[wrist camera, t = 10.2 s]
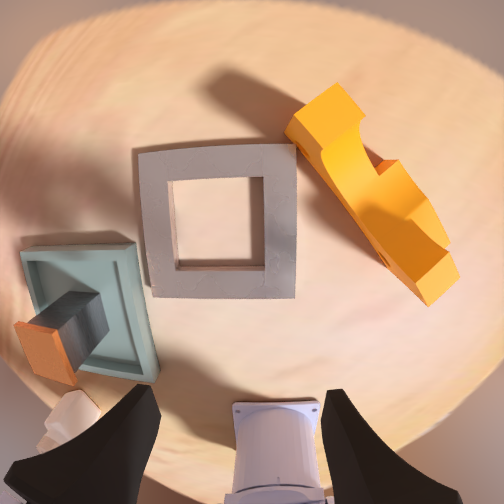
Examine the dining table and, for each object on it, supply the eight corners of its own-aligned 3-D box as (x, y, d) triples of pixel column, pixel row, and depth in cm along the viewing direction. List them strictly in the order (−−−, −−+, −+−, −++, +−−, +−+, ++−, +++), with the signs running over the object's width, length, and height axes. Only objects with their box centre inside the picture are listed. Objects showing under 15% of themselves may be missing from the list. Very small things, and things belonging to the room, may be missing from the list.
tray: (160, 370, 23) (154, 383, 21) (63, 353, 23) (54, 363, 22) (135, 242, 19) (125, 249, 18) (32, 246, 20) (19, 251, 18)
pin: (114, 334, 21) (73, 386, 14) (77, 329, 21) (34, 373, 15) (102, 289, 20) (51, 334, 13) (65, 286, 20) (13, 325, 13)
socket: (293, 292, 20) (294, 298, 19) (157, 291, 20) (152, 297, 19) (294, 145, 17) (295, 144, 16) (144, 154, 18) (138, 153, 17)
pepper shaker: (81, 386, 25) (42, 444, 15) (104, 411, 25) (71, 470, 16) (64, 391, 25) (27, 442, 16) (86, 414, 26) (54, 467, 17)
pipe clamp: (427, 231, 18) (479, 257, 12) (386, 267, 19) (428, 307, 13) (332, 95, 16) (363, 63, 10) (283, 132, 17) (293, 114, 11)
